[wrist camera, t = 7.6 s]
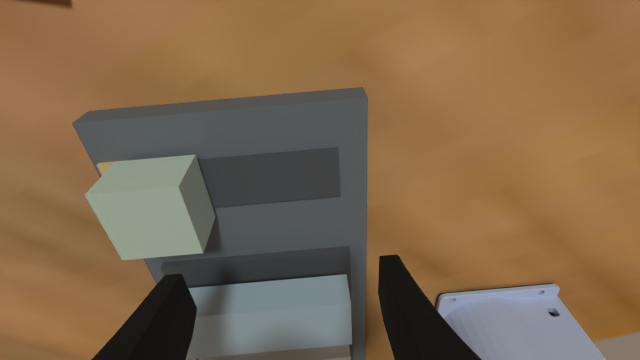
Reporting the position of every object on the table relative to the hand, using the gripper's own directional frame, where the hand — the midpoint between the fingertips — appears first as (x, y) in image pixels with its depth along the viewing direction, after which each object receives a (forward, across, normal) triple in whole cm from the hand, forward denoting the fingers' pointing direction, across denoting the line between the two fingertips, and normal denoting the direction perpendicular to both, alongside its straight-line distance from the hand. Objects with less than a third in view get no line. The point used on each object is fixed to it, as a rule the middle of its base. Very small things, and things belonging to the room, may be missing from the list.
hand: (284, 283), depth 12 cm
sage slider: (+7, +6, 0) cm, 9 cm away
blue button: (+5, +3, +8) cm, 10 cm away
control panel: (+8, +3, +8) cm, 12 cm away
